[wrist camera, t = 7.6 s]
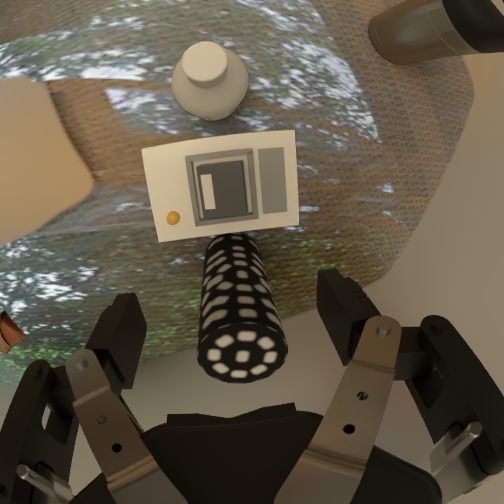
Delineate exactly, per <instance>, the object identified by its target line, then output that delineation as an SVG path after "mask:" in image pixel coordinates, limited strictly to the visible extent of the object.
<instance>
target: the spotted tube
mask: <svg viewBox="0 0 504 504" xmlns="http://www.w3.org/2000/svg"><path fill="white" fill-rule="evenodd" d="M287 354H288V345H287V342H286V338H285V335H284V332H283V328H282V325H281V321H280V318H279V315H278V311H277V308H276V305H275V301H274V298H273V294H272V291H271V288H270V284H269V281H268V278H267V274H266V271H265V268H264V264H263V261H262V258H261V254H260V251H259V248H258V246H257V244H256V243H255V242H254V240H253V239H252V238H250V237H249V236H247V235H245V234H242V233H238V232H233V233H225V234H221V235H219V236H217V237H216V238H214V239H213V240H212V241H211V242H210V244H209V245H208V247H207V249H206V252H205V259H204V268H203V279H202V289H201V300H200V312H199V325H198V339H197V360H198V363H199V365H200V367H201V368H202V369H203V371H205V372H206V373H207V374H208V375H210V376H211V377H213V378H215V379H217V380H220V381H223V382H228V383H236V384H241V383H251V382H255V381H259V380H262V379H264V378H267V377H269V376H270V375H272V374H273V373H275V372H276V371H277V370H278V369H280V367H281V366H282V365H283V364H284V362H285V360H286V358H287Z"/></svg>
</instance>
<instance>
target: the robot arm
mask: <svg viewBox="0 0 504 504" xmlns="http://www.w3.org/2000/svg"><path fill="white" fill-rule="evenodd" d="M503 2H504V0H503ZM369 35H370V39H371V41H372V43H373V45H374V46H375V48H376V50H377V51H378V52H379V53H380V54H381V55H382V56H383V57H384V58H386V59H387V60H389V61H390V62H393V63H395V64H408V63H413V62H419V61H425V60H430V59H437V58H443V57H451V56H459V55H468V54H480V53H496V52H504V16H503V15H502V14H501V12H500V11H499V10H498V9H497V8H496V6H495V5H494V4H493V3H492V1H491V0H407V1H405V2H402V3H400V4H398V5H396V6H394V7H392V8H390V9H388V10H387V11H385V12H383V13H381V14H379V15H377V16H375V17H374V18H373V19H372V20H371V22H370V24H369ZM317 308H318V312H319V315H320V317H321V319H322V321H323V323H324V325H325V327H326V329H327V331H328V333H329V336H330V338H331V340H332V342H333V344H334V346H335V348H336V350H337V353H338V355H339V357H340V359H341V361H342V363H343V366H347V368H346V370H345V373H344V375H343V377H342V380H341V382H340V384H339V386H338V389H337V391H336V393H335V395H334V397H333V399H332V401H331V404H330V406H329V408H328V410H327V412H326V414H325V416H322V415H319V414H317V413H312V412H306V411H296V408H295V404H294V403H287V404H282V405H276V406H269V407H263V408H260V409H257V410H254V411H251V412H248V413H245V414H242V415H239V416H236V417H233V418H224V417H216V416H210V415H204V414H197V413H196V414H168V415H167V423H164V424H161V425H158V426H156V427H153V428H151V429H150V430H147V431H146V432H144V430H143V429H142V427H141V426H140V424H139V423H138V421H137V420H136V418H135V417H134V415H133V413H132V412H131V410H130V409H129V407H128V405H127V404H126V402H125V400H124V399H123V397H122V396H121V391H122V389H132V386H133V382H134V378H135V374H136V370H137V366H138V362H139V358H140V355H141V351H142V347H143V343H144V340H145V336H146V332H147V327H146V321H145V318H144V315H143V313H142V310H141V307H140V305H139V302H138V299H137V296H136V295H135V293H124V294H118V295H117V296H116V298H115V300H114V302H113V304H112V306H108V307H107V308H106V309H105V310H104V311H103V312H102V314H101V316H100V318H99V319H98V322H97V323H96V325H95V329H94V330H93V332H92V334H91V336H90V338H89V340H88V342H87V344H86V346H85V349H82V350H79V351H76V352H75V353H73V354H72V355H71V356H70V357H69V358H68V359H67V361H66V365H64V366H60V367H55V368H52V367H51V366H50V364H49V363H48V362H47V361H46V360H43V359H40V360H36V361H34V362H32V363H31V364H30V365H29V366H28V367H27V368H26V370H25V372H24V374H23V376H22V379H21V381H20V383H19V385H18V388H17V390H16V392H15V395H14V397H13V399H12V402H11V404H10V407H9V409H8V412H7V415H6V418H5V420H4V423H3V426H2V428H1V431H0V504H446V503H448V502H449V501H451V500H453V499H454V498H456V497H458V496H460V495H461V494H466V493H469V492H471V491H472V490H474V489H476V488H477V487H479V486H481V485H482V484H484V483H485V482H487V481H489V480H490V479H492V478H493V477H494V476H496V475H497V474H499V473H500V472H502V471H503V470H504V396H503V395H502V393H501V391H500V390H499V388H498V387H497V385H496V384H495V382H494V381H493V379H492V378H491V376H490V375H489V373H488V372H487V370H486V369H485V368H484V366H483V365H482V363H481V362H480V361H479V359H478V358H477V356H476V355H475V354H474V352H473V351H472V350H471V349H470V347H469V346H468V344H467V343H466V342H465V340H464V339H463V338H462V337H461V335H460V334H459V333H458V331H457V330H456V329H455V328H454V326H453V325H452V324H451V323H450V322H449V321H448V320H447V319H445V318H444V317H441V316H437V315H430V316H427V317H425V318H424V319H423V320H422V322H421V325H420V327H401V325H400V324H399V322H398V321H396V320H395V319H393V318H391V317H388V316H382V315H381V314H380V312H379V311H378V310H377V308H376V307H375V305H374V304H373V303H372V301H371V300H370V299H369V297H367V295H366V293H364V291H363V290H362V288H361V287H360V286H359V284H358V283H357V282H355V281H354V280H352V279H350V278H349V277H346V278H343V277H342V275H341V274H340V273H339V271H338V270H337V269H336V268H331V269H325V270H319V271H318V278H317ZM436 368H437V369H436ZM438 371H439V372H438ZM439 373H440V374H439ZM441 376H442V377H441ZM395 380H404V381H405V383H406V385H407V387H408V389H409V391H410V393H411V395H412V397H413V399H414V401H415V403H416V405H417V407H418V410H419V412H420V414H421V416H422V418H423V420H424V422H425V424H426V427H427V429H428V431H429V433H430V436H431V438H432V440H433V443H434V447H433V448H432V450H431V453H430V463H431V464H430V467H431V472H430V474H429V473H428V472H427V471H425V470H423V469H421V468H418V467H416V466H414V465H412V464H410V463H408V462H406V461H404V460H402V459H400V458H398V457H396V456H394V455H392V454H390V453H389V452H387V451H385V450H383V449H381V448H379V447H377V446H376V445H374V442H375V439H376V437H377V434H378V431H379V428H380V425H381V422H382V419H383V415H384V412H385V409H386V406H387V402H388V399H389V395H390V391H391V388H392V384H393V381H395ZM46 405H47V407H48V408H49V409H50V410H51V412H50V415H49V418H48V422H47V425H46V428H45V430H44V428H43V426H42V416H43V413H44V410H45V407H46ZM79 423H80V425H81V428H82V430H83V432H84V435H85V437H86V439H87V442H88V444H89V446H90V448H91V450H92V452H93V454H94V456H95V459H96V461H97V462H98V464H99V466H100V468H101V470H102V473H100V474H99V475H98V476H97V477H96V478H95V479H94V480H93V481H92V482H90V483H89V484H88V485H87V486H86V487H85V488H84V489H83V490H82V491H80V492H79V493H78V494H77V495H76V496H74V495H73V494H72V490H71V487H70V485H69V484H68V482H69V475H70V468H71V462H72V457H73V451H74V446H75V440H76V436H77V432H78V427H79Z"/></svg>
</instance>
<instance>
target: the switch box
mask: <svg viewBox="0 0 504 504" xmlns="http://www.w3.org/2000/svg"><path fill="white" fill-rule="evenodd" d="M142 156H143V162H144V168H145V174H146V180H147V186H148V191H149V196H150V202H151V207H152V212H153V216H154V221H155V226H156V230H157V235H158V239H159V242H165V241H172V240H179V239H187V238H194V237H202V236H209V235H217V234H225V233H233V232H241V231H249V230H258V229H266V228H275V227H284V226H292V225H299V208H298V182H297V162H296V145H295V130H269V131H255V132H244V133H234V134H225V135H217V136H209V137H202V138H195V139H189V140H182V141H176V142H171V143H165V144H160V145H155V146H150V147H147V148H144V149H142ZM240 160H243V163H244V174H245V184H246V194H247V205H248V212H247V215H242V216H224V217H208V218H203V212H202V205H201V198H200V192H199V185H198V177H197V170H196V166H198V165H200V164H208V163H218V162H228V161H240Z"/></svg>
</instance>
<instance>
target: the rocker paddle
mask: <svg viewBox="0 0 504 504" xmlns="http://www.w3.org/2000/svg"><path fill="white" fill-rule="evenodd" d="M196 170H197V177H198V185H199V192H200V198H201V205H202V212H203V218H208V217H224V216H242V215H247V212H248V205H247V194H246V184H245V174H244V163H243V160H240V161H228V162H218V163H208V164H200V165H198V166H196Z"/></svg>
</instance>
